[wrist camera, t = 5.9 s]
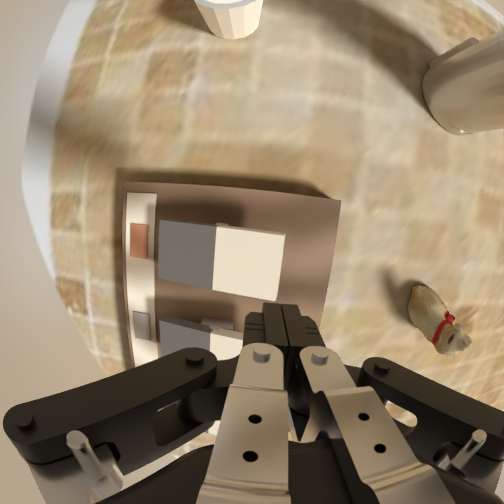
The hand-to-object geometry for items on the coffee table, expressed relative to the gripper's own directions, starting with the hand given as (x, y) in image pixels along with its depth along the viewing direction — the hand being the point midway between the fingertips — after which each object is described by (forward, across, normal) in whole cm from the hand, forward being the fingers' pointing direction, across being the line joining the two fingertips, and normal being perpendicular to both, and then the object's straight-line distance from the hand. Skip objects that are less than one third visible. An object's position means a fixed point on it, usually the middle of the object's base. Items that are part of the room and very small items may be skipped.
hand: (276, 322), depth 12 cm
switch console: (+16, +4, +9) cm, 19 cm away
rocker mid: (+10, +4, +9) cm, 14 cm away
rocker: (+10, +4, 0) cm, 11 cm away
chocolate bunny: (+16, -21, +6) cm, 27 cm away
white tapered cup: (+16, +6, -25) cm, 30 cm away
